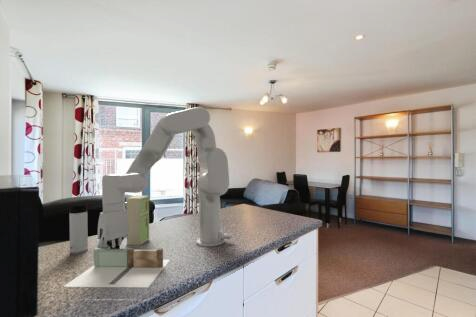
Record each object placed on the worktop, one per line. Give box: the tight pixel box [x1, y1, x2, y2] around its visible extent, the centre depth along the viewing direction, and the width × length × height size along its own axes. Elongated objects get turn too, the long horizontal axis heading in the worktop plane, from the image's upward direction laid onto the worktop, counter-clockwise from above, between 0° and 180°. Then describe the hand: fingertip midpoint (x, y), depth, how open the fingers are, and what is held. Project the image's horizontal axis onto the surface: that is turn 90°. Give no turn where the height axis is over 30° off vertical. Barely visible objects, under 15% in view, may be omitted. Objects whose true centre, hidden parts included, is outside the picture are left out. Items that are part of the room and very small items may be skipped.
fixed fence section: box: [127, 247, 164, 268], centre depth 87 cm, size 12×2×6 cm, turn 87°
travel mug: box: [68, 204, 89, 256], centre depth 103 cm, size 6×7×20 cm
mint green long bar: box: [93, 247, 129, 267], centre depth 88 cm, size 12×2×6 cm, turn 87°
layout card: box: [63, 259, 171, 288], centre depth 84 cm, size 26×20×1 cm
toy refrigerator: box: [125, 194, 150, 246], centre depth 114 cm, size 8×7×21 cm
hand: (114, 256), depth 92 cm, fingers closed
